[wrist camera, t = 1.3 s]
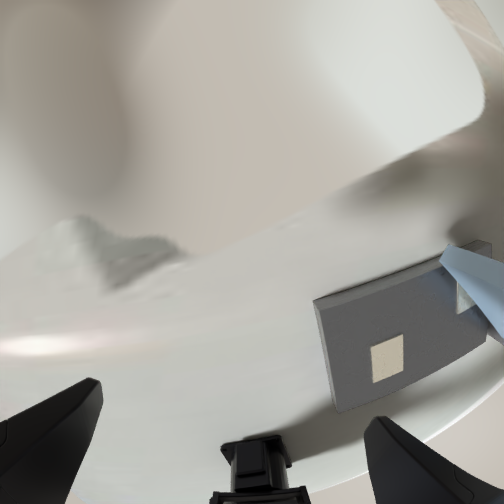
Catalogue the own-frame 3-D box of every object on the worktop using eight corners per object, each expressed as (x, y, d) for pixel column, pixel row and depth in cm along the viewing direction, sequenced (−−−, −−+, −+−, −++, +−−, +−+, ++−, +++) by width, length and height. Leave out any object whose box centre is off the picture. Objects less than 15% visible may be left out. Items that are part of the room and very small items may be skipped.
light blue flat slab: (496, 317, 23) (557, 356, 12) (486, 334, 23) (544, 377, 13) (426, 232, 21) (524, 263, 10) (411, 255, 21) (507, 300, 10)
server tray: (475, 334, 23) (486, 342, 21) (332, 400, 24) (338, 415, 21) (478, 239, 21) (492, 244, 19) (312, 300, 21) (319, 312, 19)
